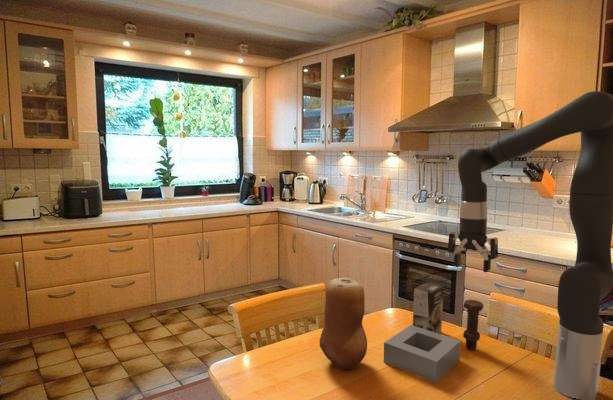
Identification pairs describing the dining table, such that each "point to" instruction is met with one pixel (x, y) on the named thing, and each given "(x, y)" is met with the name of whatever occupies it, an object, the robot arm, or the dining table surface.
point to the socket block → (422, 352)
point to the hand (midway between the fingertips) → (471, 269)
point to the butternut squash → (344, 323)
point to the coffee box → (428, 307)
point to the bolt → (472, 323)
